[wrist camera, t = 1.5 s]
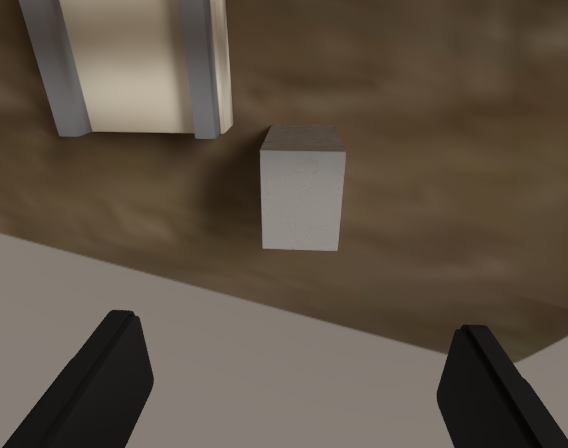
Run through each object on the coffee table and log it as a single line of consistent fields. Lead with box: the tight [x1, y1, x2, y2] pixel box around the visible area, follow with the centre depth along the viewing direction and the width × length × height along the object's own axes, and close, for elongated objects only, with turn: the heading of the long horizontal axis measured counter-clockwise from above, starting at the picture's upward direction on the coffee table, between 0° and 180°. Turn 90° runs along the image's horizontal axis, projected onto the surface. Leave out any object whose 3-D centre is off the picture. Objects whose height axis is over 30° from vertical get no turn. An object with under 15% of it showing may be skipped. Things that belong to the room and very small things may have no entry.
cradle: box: [19, 0, 233, 139], centre depth 20 cm, size 12×10×4 cm
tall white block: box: [260, 125, 346, 251], centre depth 22 cm, size 6×4×7 cm
